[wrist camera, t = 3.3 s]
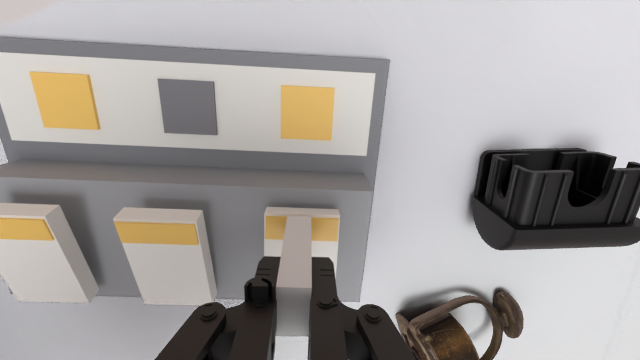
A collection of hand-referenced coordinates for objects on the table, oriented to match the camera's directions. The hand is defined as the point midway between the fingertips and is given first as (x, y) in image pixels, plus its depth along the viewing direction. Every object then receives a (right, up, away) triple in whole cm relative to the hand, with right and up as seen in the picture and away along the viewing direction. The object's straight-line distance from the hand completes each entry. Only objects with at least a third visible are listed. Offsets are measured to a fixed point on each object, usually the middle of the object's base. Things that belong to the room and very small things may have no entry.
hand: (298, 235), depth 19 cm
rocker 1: (-18, -2, +1) cm, 18 cm away
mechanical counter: (+16, -12, +14) cm, 24 cm away
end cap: (+20, +3, +8) cm, 22 cm away
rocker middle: (-9, -2, +2) cm, 9 cm away
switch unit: (-9, +4, +7) cm, 12 cm away
